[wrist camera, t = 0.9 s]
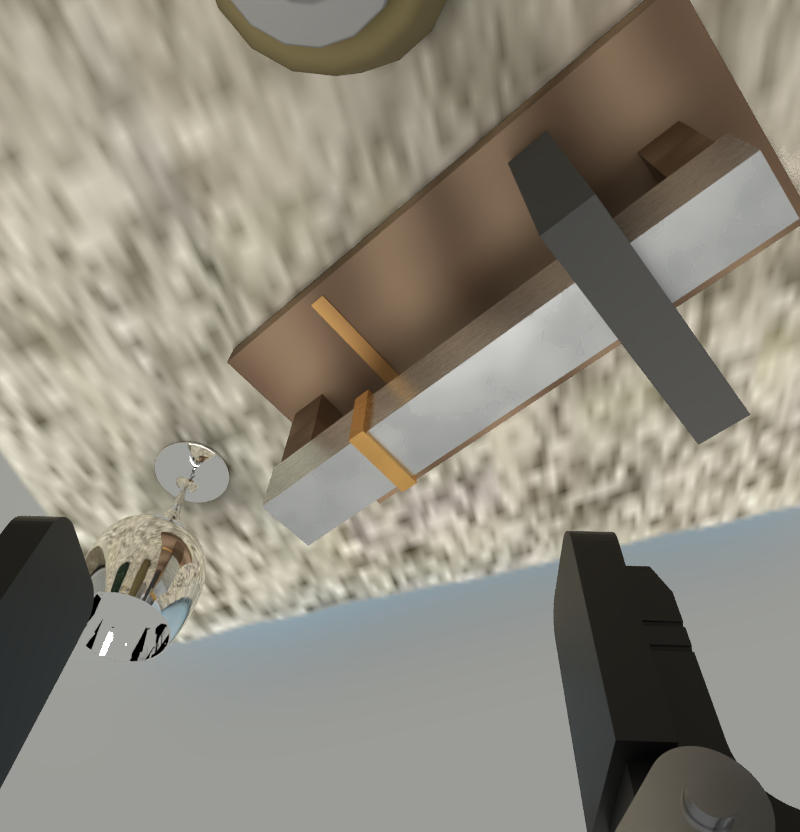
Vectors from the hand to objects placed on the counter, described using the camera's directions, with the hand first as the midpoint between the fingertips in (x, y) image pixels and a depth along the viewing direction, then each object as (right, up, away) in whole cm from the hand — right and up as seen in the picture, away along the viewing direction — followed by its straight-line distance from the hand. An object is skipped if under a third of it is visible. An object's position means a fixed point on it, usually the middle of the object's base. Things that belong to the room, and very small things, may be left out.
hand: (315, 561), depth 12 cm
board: (+6, +9, +24) cm, 27 cm away
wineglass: (-11, -1, +31) cm, 33 cm away
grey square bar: (+5, +6, +20) cm, 21 cm away
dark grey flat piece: (+10, +10, +20) cm, 25 cm away
